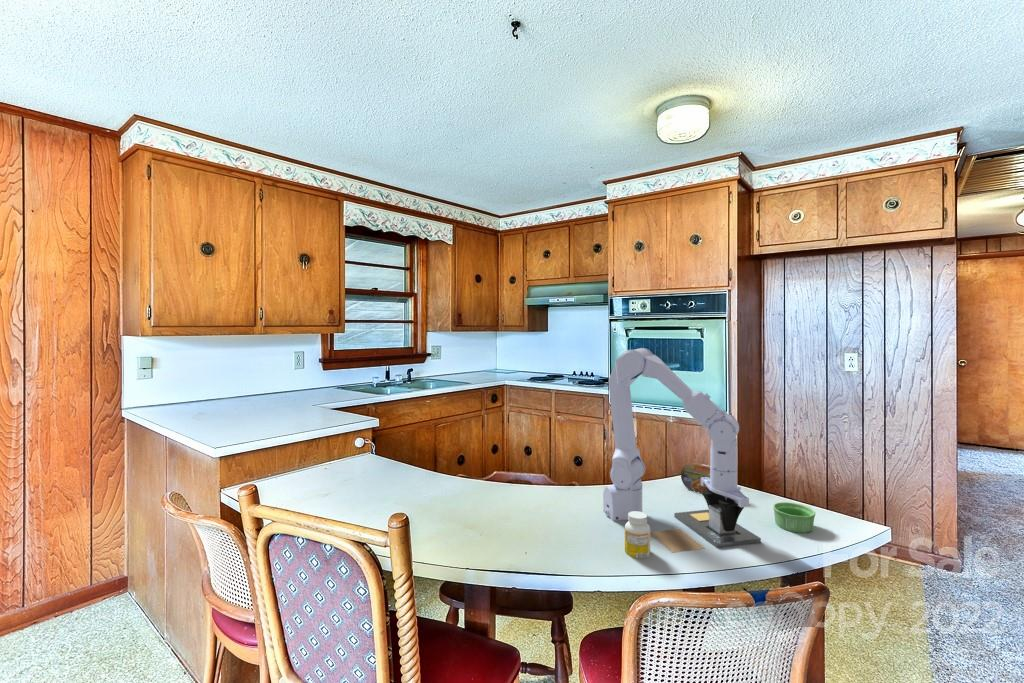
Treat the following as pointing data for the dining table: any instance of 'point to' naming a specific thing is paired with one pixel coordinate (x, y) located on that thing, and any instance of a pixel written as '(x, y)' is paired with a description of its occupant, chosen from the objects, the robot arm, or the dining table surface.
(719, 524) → the steel peg
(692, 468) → the tin
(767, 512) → the dining table surface
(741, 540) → the rack plate
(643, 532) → the supplement bottle
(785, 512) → the ramekin
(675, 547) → the pad
